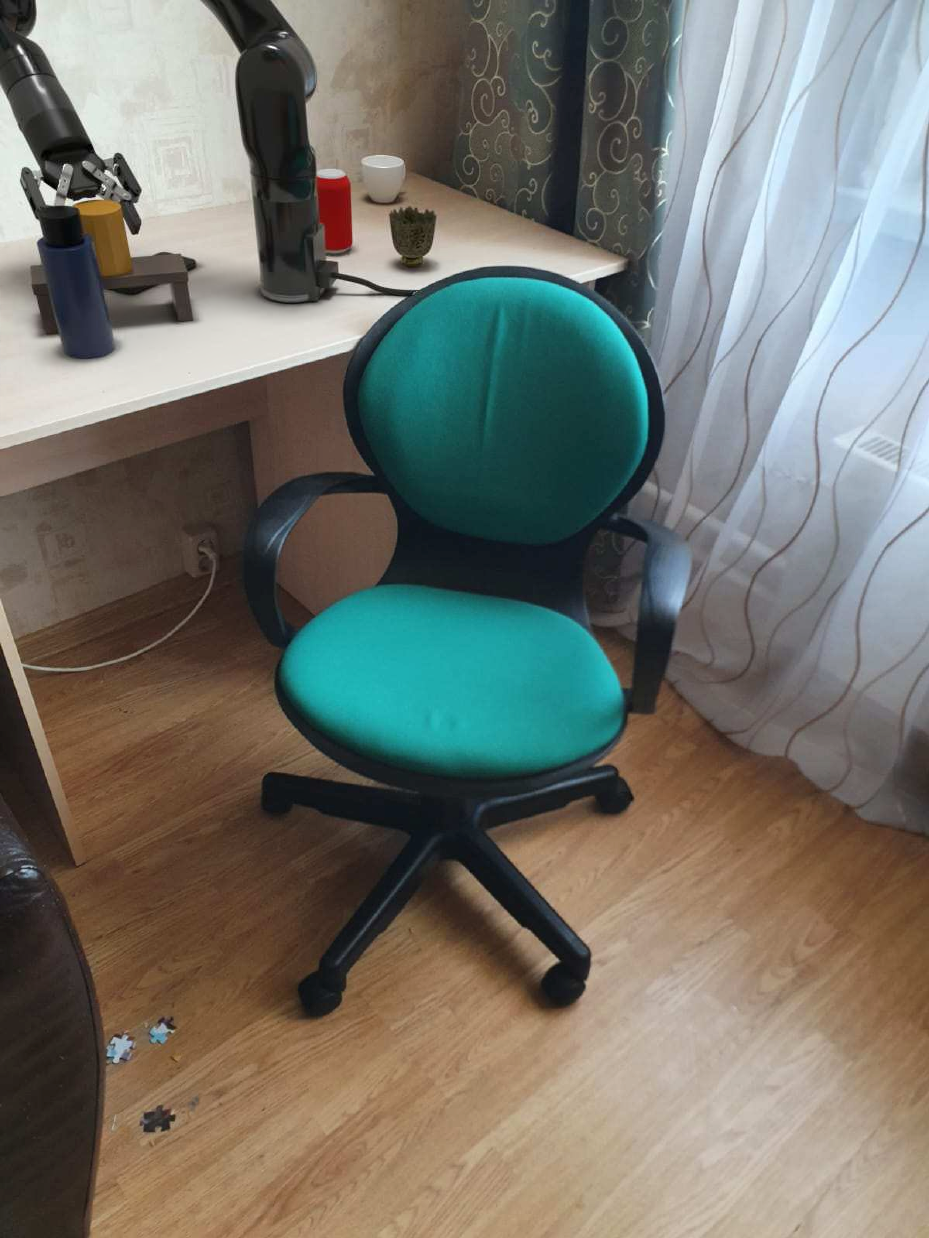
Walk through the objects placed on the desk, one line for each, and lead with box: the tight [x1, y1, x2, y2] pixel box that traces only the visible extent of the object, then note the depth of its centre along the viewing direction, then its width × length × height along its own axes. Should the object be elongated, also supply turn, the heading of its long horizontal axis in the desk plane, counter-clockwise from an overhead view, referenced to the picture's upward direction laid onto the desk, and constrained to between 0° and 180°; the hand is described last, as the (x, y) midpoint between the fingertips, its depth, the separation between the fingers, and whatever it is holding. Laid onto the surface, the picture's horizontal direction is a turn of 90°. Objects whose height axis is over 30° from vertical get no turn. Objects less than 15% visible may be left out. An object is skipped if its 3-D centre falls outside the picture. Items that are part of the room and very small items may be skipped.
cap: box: [71, 199, 133, 277], centre depth 127 cm, size 6×6×8 cm
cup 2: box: [388, 205, 437, 268], centre depth 152 cm, size 8×7×8 cm
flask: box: [36, 205, 116, 360], centre depth 121 cm, size 7×7×18 cm
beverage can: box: [317, 168, 354, 255], centre depth 154 cm, size 6×6×12 cm
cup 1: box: [360, 154, 407, 204], centre depth 177 cm, size 8×10×7 cm
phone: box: [112, 251, 197, 294], centre depth 146 cm, size 7×1×15 cm
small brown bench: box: [30, 253, 194, 336], centre depth 132 cm, size 20×7×7 cm, turn 110°
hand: (106, 238), depth 126 cm, fingers open, 8 cm apart
